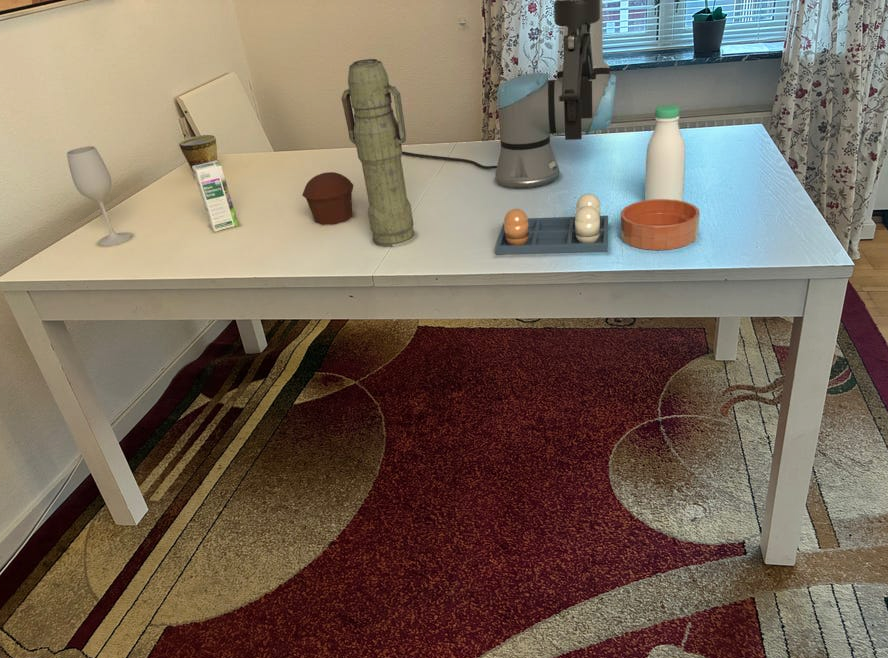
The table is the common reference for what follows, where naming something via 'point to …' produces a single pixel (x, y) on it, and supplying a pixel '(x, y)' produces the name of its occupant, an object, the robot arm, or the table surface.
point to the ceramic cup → (199, 149)
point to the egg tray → (554, 238)
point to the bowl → (659, 224)
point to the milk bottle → (665, 157)
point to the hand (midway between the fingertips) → (579, 128)
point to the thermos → (379, 149)
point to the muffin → (329, 198)
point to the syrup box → (215, 195)
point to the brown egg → (516, 227)
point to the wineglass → (93, 184)
